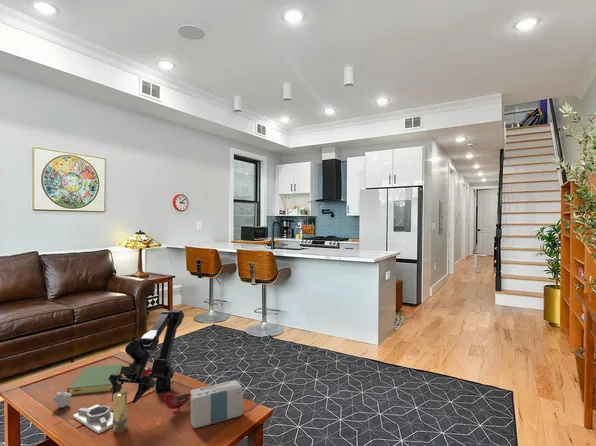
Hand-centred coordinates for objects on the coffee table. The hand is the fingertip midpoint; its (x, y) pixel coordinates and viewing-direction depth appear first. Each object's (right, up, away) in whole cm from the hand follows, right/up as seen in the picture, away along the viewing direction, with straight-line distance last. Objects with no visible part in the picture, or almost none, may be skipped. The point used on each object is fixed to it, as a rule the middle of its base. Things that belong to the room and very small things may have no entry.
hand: (122, 402), depth 144 cm
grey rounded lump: (-34, -9, +14) cm, 38 cm away
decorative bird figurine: (+19, -10, +12) cm, 25 cm away
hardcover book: (-32, -10, +38) cm, 51 cm away
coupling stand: (-12, -10, +4) cm, 16 cm away
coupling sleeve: (0, -10, -2) cm, 10 cm away
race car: (-11, -9, +45) cm, 48 cm away
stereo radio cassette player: (+37, -10, +6) cm, 39 cm away
